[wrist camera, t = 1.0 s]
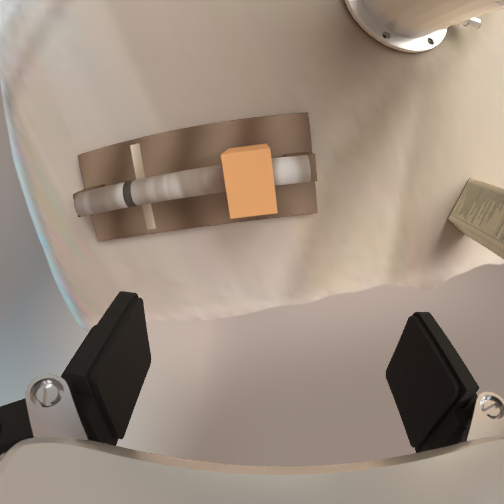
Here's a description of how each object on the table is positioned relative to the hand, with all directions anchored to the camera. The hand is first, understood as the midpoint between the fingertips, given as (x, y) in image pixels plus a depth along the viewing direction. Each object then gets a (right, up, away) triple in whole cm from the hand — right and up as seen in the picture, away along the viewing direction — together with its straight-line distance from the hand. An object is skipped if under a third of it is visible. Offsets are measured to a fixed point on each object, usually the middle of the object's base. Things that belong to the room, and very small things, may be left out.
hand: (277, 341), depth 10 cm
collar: (-1, +11, +18) cm, 21 cm away
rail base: (-7, +11, +20) cm, 24 cm away
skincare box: (+26, +9, +21) cm, 34 cm away
